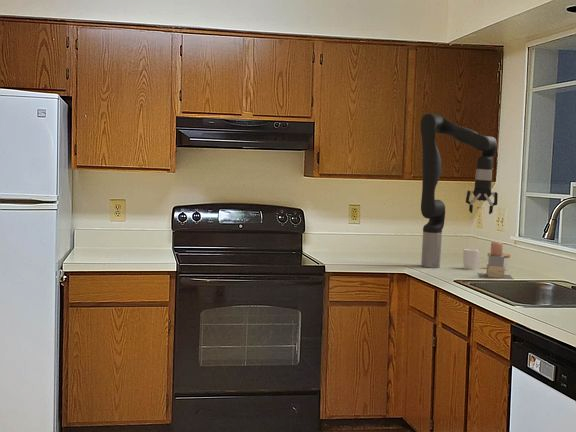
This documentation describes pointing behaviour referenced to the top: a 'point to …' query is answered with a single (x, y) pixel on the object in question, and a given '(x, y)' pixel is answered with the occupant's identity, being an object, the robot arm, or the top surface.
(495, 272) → the maple block
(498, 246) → the terracotta cylinder
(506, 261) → the lidded jar
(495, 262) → the grey block
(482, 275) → the charcoal mat
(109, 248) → the top surface
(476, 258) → the white cup
